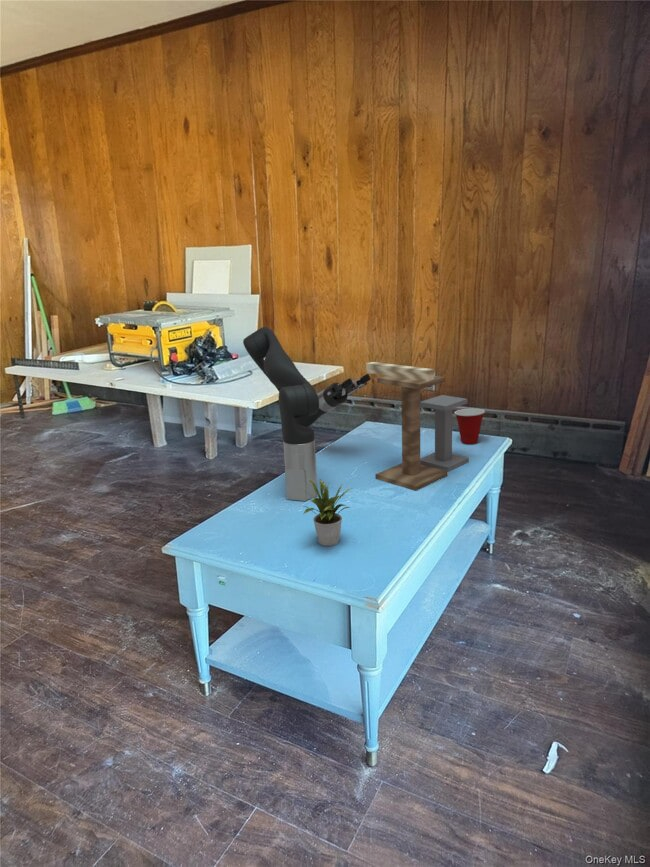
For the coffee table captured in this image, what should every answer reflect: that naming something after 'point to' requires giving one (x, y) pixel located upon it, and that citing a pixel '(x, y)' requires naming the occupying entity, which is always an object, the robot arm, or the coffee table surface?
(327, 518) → the house plant
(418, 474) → the walnut stand
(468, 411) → the plastic cup
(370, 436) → the coffee table surface
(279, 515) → the coffee table surface
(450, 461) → the charcoal stand
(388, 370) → the birch block
